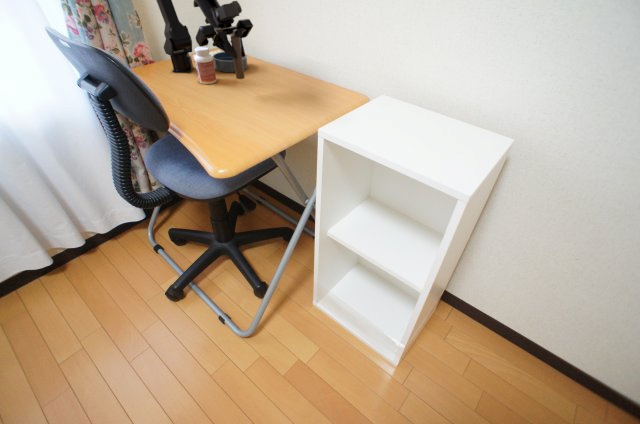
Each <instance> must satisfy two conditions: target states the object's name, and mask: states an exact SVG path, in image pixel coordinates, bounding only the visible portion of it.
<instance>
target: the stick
mask: <svg viewBox="0 0 640 424" xmlns="http://www.w3.org/2000/svg"><path fill="white" fill-rule="evenodd" d="M230 41H231V42H230V44H231V46H232V47H233V49H234V51H235V52H236V55H237V59H235V58H233V59H234V66H235V72H234V73H235V79H237V80H243V79H245V77H246V76H245V69H244V67H243V59H242V50H241V42H240V37H239V36H232V37H230Z"/></svg>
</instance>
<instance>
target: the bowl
mask: <svg viewBox="0 0 640 424" xmlns="http://www.w3.org/2000/svg"><path fill="white" fill-rule="evenodd" d="M211 56H212V58H213V63H214V69H215V70H217V71H219V72H222V73H229V74H230V73H231V74H232V73H235V66H234V59H233V57H232V56H230V55H229V54H227V53H226V52H224V51H220V52H216V53H214V54H212V55H211ZM242 59H243V67H244V70H246V69H247V68H248V65H249V64H248V58H247V54H246V53H245V56H244V57H243V56H242Z"/></svg>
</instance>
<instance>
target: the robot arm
mask: <svg viewBox="0 0 640 424" xmlns="http://www.w3.org/2000/svg"><path fill="white" fill-rule="evenodd" d="M155 1H156V3H157V6H158V8H159V12H160V14H161V16H162V19H163V21H164V22H163V23H164V24H165V25H164V30H163V31H164V32H163V34H164V38H165V41H164V44H163V50H164V52H165V54H166V55H168V56H169V57H170V60H171V61H170V62H171V64H172V73H191V71H192V70H193V69H194V64H193V59H192V56H191V55H190V53H193V40H192V36H191V35H190V31H189V28H188V27H187V25H183V23H182V22H180V20H179V17H178V14H177V11H176V9H175V6H174V3H173V0H155ZM193 7H194V8H199V9H200V11H201V13H202V14H203V15H204V18H205V19H204V22H205V25H200V26H199V27H198V30H197V32H196V35H195V40H196V41H195V42H196V43H197V45H198V47H206V46H209V42H210V41H209V39H211V40H212V43H211V45H212V47H215V48H217V49H219V50H221V51H222V52H226V53H227V54H229V55H230V56H232V57H233V58H235V59H237V55H236V52H235V51H234V49H233V47H232V44H231V40H229V39H228V36H229V37H230V38H231V37H232V36H239V37H240V42H241V50H242V56H243V57H244V56H245V54H246V53H245V48H244V43H243V39H245V38H247V37H248V36H249V34H250V33H251V31H252V29H253V27H254V24H253V23H252V21H251V19H250V18H243V19H239V20H238V21H237V23H236V25H233V24H234V22H235V18H236V17H239V16H240V14H241V13H242V12H243V8H242V6H241V4H240V3H239V1H238V0H232V2H230V3H224V4H222V5H221V4H220V3H219V1H218V0H193Z"/></svg>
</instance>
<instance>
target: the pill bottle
mask: <svg viewBox="0 0 640 424" xmlns="http://www.w3.org/2000/svg"><path fill="white" fill-rule="evenodd" d="M194 53H195V56H194V63H195V70H196V74H197V78H198V82H199V83H200V84H204V85H211V84H214V83H216V82H217V76H216V69H215V68H214V63H213V58H212V56H213V55H211V54H210V49H209V47H206V46H202V47H200V46H197V47H195V48H194Z"/></svg>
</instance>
